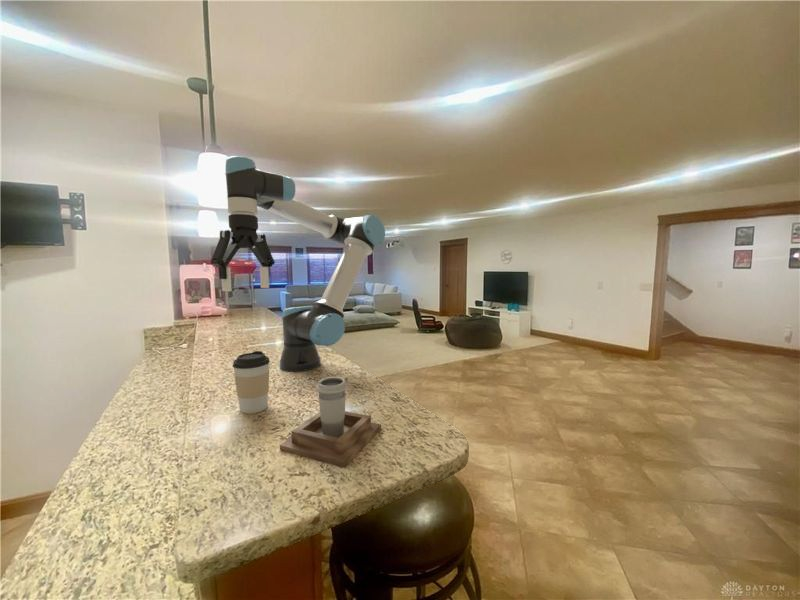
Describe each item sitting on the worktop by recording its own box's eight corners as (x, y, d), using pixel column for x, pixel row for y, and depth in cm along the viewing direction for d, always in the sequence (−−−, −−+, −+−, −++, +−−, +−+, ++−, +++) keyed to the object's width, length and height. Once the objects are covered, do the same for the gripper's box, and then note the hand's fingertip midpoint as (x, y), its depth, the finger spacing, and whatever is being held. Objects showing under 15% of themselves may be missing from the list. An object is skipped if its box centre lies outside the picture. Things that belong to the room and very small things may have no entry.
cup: (316, 427, 74) (315, 377, 73) (345, 423, 76) (344, 374, 75) (319, 443, 67) (317, 389, 66) (350, 438, 70) (349, 385, 68)
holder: (324, 416, 82) (324, 403, 82) (380, 428, 76) (380, 414, 76) (279, 449, 68) (279, 433, 67) (344, 467, 62) (344, 450, 61)
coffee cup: (258, 416, 82) (255, 360, 81) (227, 413, 84) (224, 358, 82) (278, 402, 91) (276, 350, 89) (250, 399, 93) (247, 349, 91)
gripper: (266, 221, 104) (269, 286, 106) (191, 209, 81) (197, 292, 83) (284, 220, 101) (287, 287, 104) (212, 206, 78) (217, 293, 81)
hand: (247, 289), depth 93 cm, fingers open, 13 cm apart
